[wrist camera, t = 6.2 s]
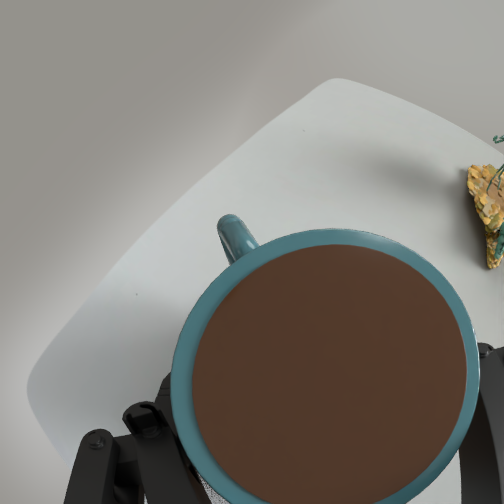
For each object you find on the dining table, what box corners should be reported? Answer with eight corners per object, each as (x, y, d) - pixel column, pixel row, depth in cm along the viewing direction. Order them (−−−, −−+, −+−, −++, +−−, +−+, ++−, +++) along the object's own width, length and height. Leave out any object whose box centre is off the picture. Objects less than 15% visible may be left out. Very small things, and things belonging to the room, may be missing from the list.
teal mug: (445, 409, 12) (573, 382, 3) (257, 528, 10) (223, 635, 1) (335, 251, 19) (366, 118, 10) (157, 346, 17) (42, 271, 8)
